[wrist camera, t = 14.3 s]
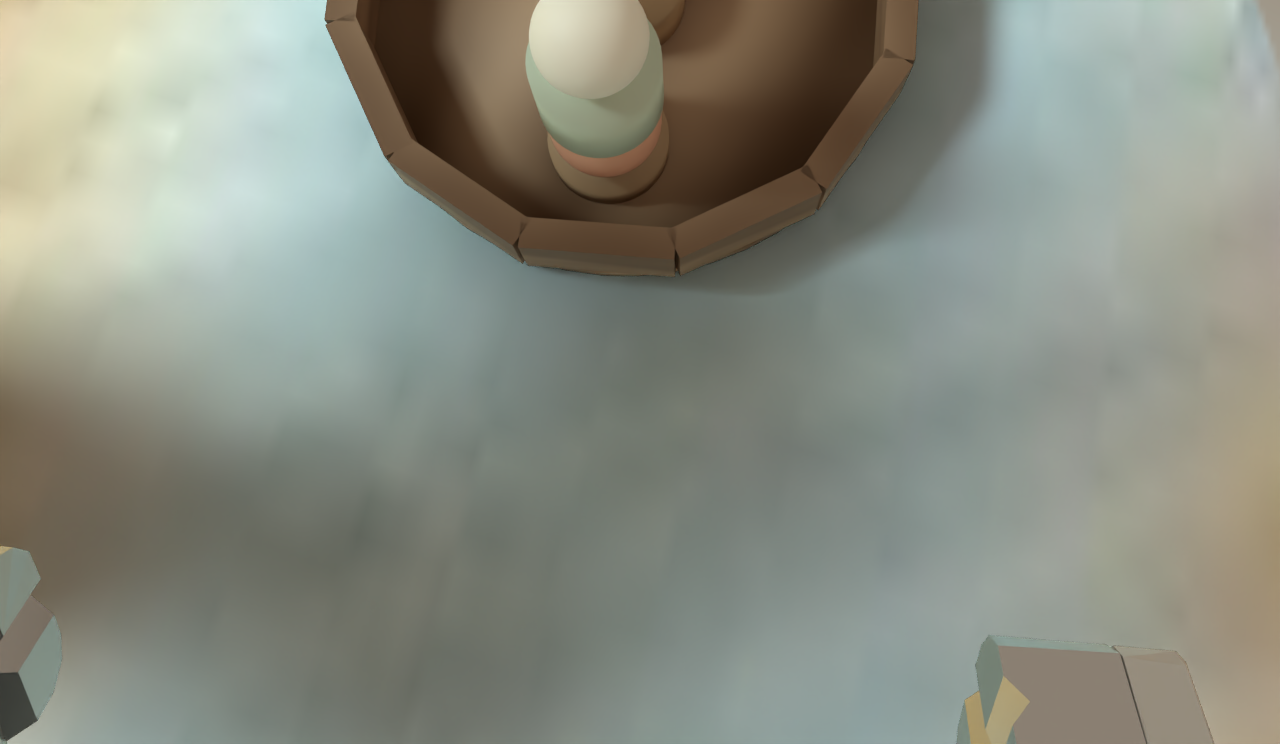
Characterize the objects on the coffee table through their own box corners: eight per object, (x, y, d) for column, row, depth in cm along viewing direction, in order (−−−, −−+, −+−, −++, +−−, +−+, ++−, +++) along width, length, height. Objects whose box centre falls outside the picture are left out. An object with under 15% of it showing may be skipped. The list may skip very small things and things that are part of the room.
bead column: (545, 199, 41) (498, 81, 31) (556, 85, 41) (513, -69, 31) (664, 208, 41) (656, 91, 30) (674, 93, 41) (669, -60, 31)
